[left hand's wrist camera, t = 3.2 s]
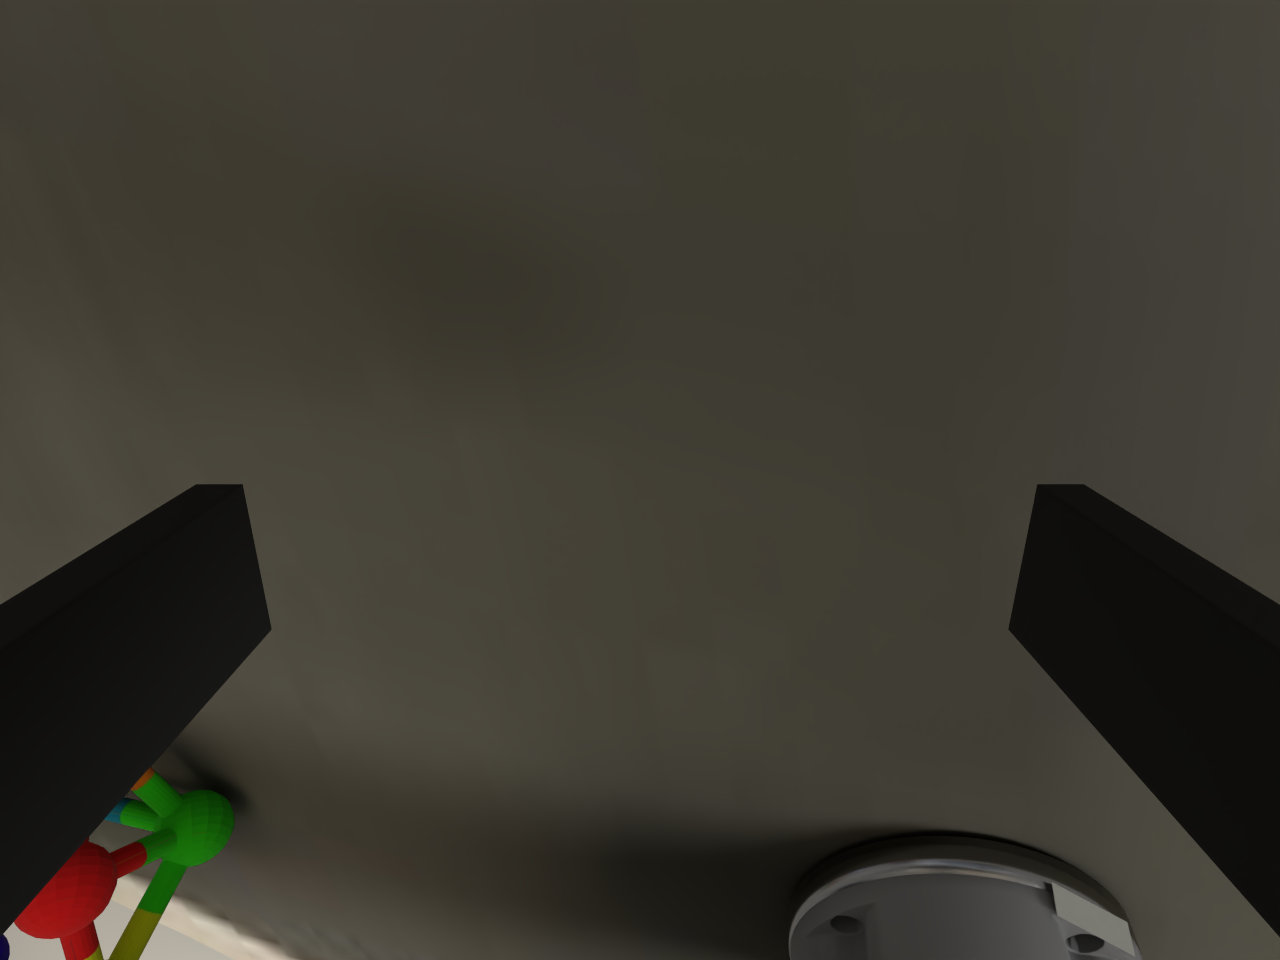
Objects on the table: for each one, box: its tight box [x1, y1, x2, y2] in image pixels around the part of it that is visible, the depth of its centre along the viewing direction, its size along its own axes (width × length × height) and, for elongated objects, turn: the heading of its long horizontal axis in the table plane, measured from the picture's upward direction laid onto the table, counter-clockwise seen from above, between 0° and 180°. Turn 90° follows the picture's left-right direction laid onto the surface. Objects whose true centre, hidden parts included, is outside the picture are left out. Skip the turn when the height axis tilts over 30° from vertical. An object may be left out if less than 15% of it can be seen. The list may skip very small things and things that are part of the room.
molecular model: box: [0, 767, 235, 960], centre depth 36 cm, size 15×12×15 cm
